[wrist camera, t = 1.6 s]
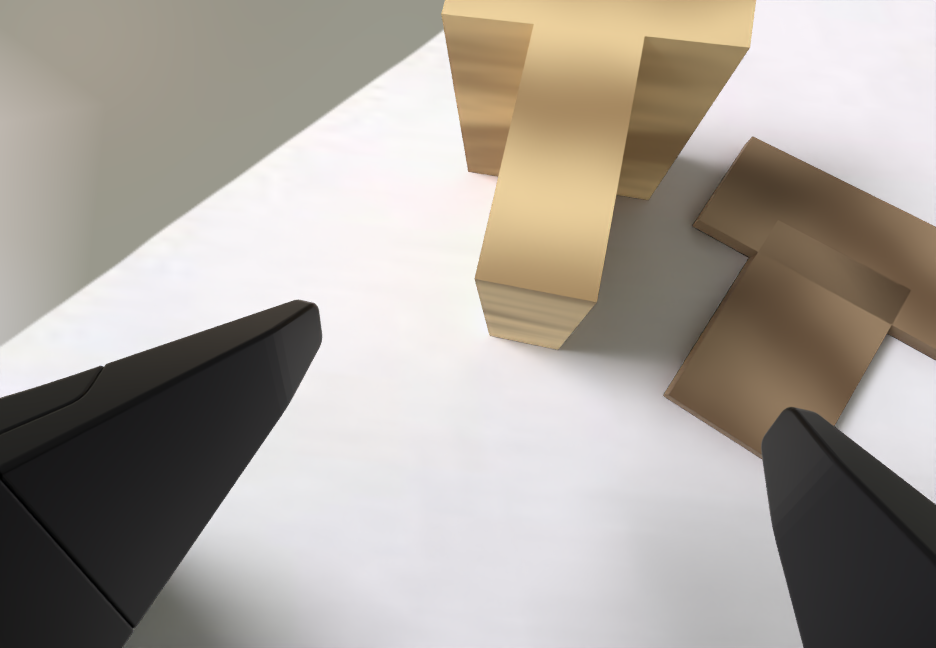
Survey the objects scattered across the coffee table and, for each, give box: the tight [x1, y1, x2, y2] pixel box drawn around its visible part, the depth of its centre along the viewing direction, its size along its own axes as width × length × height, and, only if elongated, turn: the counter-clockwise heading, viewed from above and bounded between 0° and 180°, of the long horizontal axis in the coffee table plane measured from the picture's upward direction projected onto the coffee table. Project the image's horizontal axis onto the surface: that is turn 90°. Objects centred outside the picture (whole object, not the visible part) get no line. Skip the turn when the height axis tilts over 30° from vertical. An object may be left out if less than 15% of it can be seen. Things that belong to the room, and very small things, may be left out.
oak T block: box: [441, 0, 756, 350], centre depth 18 cm, size 12×10×10 cm
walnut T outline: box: [663, 136, 936, 459], centre depth 21 cm, size 14×13×1 cm
